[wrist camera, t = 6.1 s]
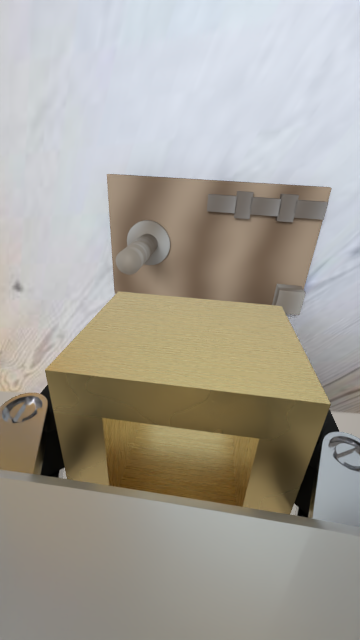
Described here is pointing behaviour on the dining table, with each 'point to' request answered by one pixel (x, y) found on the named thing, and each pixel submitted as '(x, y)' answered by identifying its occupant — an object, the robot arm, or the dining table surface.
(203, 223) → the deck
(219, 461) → the end link
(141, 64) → the dining table surface
